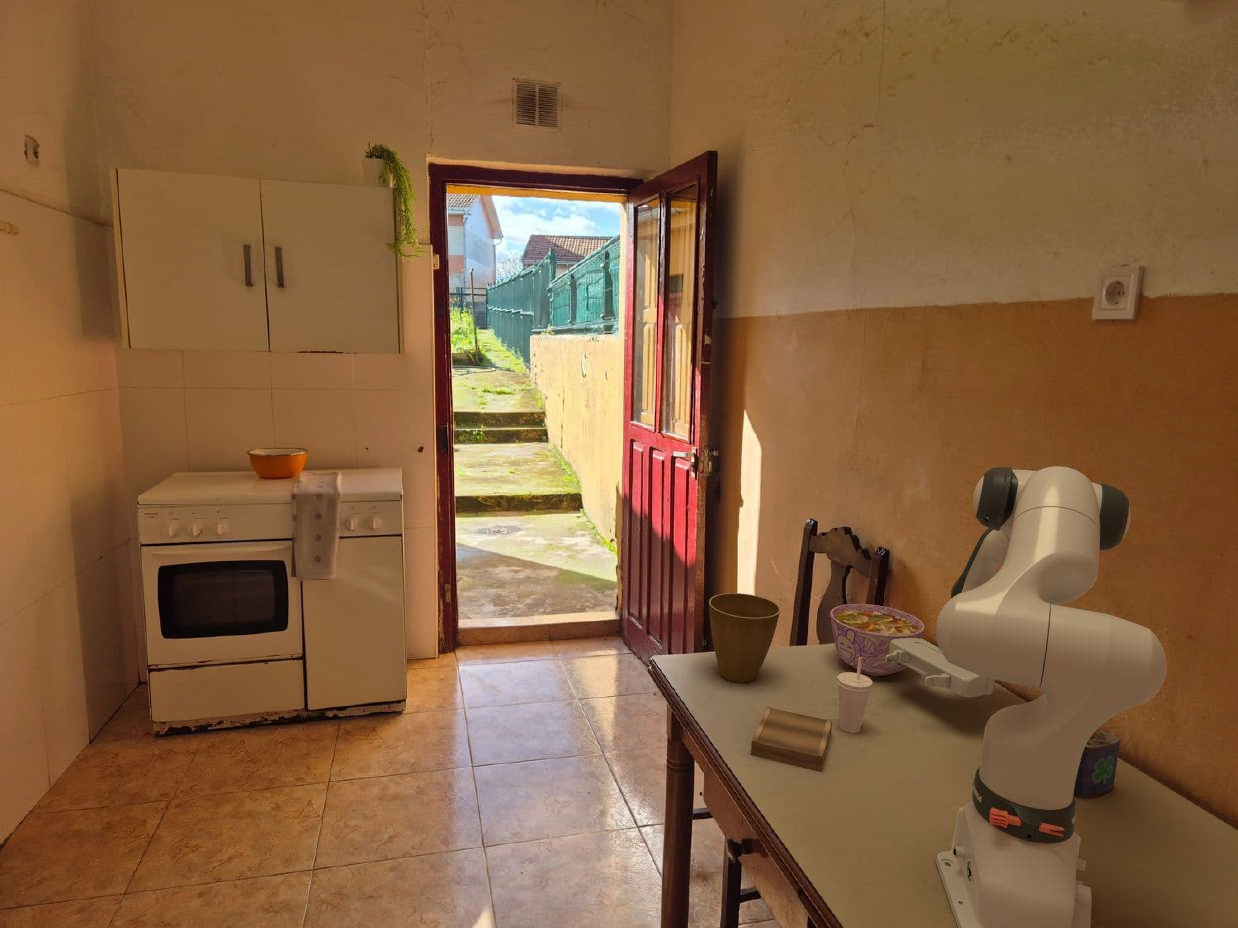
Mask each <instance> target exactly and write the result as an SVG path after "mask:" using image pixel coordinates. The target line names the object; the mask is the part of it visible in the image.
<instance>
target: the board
mask: <svg viewBox="0 0 1238 928" xmlns="http://www.w3.org/2000/svg"><path fill="white" fill-rule="evenodd" d="M832 727H833V720H832V719H828V718H827V719H823V718H820V717H815V716H809V715H805V714H801V713H796V712H792V711H786V710H781V709H777V708H773V707H771V706H767V707H766V709H765V711H764V713H763V715H762V717H761V720H760V722H759V724H758V727H757V729H756V731H755V733H754V736H753V738H752V740H751V744H750V745H751V747H750V755H751V756H755V757H759V758H763V759H767V760H771V761H776V762H781V763H785V764H789V765H793V766H797V767H801V768H805V769H810V770H814V771H818V772H822V771H823V767H824V764H825V760H826V755H827V751H828V747H829V744H830V743H829V742H830V741H831V740H830V739H831V736H832V730H833V729H832Z"/></svg>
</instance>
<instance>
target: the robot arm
mask: <svg viewBox="0 0 1238 928" xmlns="http://www.w3.org/2000/svg"><path fill="white" fill-rule="evenodd" d="M972 496H973V497H972V503H973V509H974V513H975V518H976V519H977V521H978V523H979V524H980V525H982V526H984V527H986V528H987V529H986V530H985V531H984V532H983V533H982V535H980V536H979V539H978V541H977V543H976V545H975V546H974V548H973V551H972V552H971V555H970V557H969V558H968V561H967V563H966V565H965V567H964V569H963V571H962V573H961V574H960V576H959V577H958V579H956V580H955V582H954V584H953V585H952V587H951V591H950V599H949V600H948V601H947V602H946V603H945V604H944V606H942V608H941V610H940V612H939V614H938V617H937V620H936V626H935V636H936V641H937V646H936V645H934V644H932V643H930V642H928V641H927V640H926V641H925V640H924V639H922V638H921V639H918V638H901V639H893V640H891V642H890V646H889V655H886V657H885V663H886V664H888V665H890V666H895V665H897V661H898V662H900V663H902V664H904V665H906V666H907V667H906V668H909V669H911V670H913V671H914V672H916V673H919V675H921V676H920V683H921V684H922V685H924V686H925V687H926V688H927V687H938V688H945V689H947V690H949V691H951V692H952V693H954V694H956V695H958V696H960V697H963V698H976V697H977V698H978V697H980V696H989V695H992V694H993V692H994V687H995V681H1000V682H1004V683H1008V684H1009V683H1010V684H1013V685H1018V686H1022V687H1023V686H1024V687H1028V688H1031V689H1037V690H1039V691H1040V692H1041V691H1042V692H1043V693H1042V694H1041V695H1040V696H1039V697H1037V698H1035V699H1034V700H1031V701H1027V702H1024V703H1018V704H1013V705H1009V706H1006V707H1003V708H1001V709H999V710H997V711H996V712H994V714H992V715H991V716H990V717H989V719H988V720H987V722H986V724H985V726H984V731H983V732H984V733H983V740H982V747H981V755H980V764H979V767H978V768H977V769H976V771H975V774H974V778H973V780H972V781H973V782H972V793H971V794H972V795H971V800H970V801H969V802H967V803H966V804H964V805H962V806H961V807H960V808H958V810H957V815H956V819H955V820H956V821H955V826H954V833H953V837H952V844H951V850H945V851H940V852H938V853H937V855H936V859H935V865H936V866H937V870H938V873H939V876H940V879H941V882H942V884H943V887H944V891H945V893H946V894H945V895H946V897H947V900H948V903H949V906H950V908H951V911H952V915H953V917H954V920H955V924H956V925H957V928H1091V926H1092V907H1093V906H1092V904H1093V903H1092V902H1093V901H1092V900H1093V899H1092V887H1090V886H1087V885H1084V881H1081V880H1078V879H1076V878H1077V871H1080V872H1083V873H1084V872H1086V870H1087V869H1086V868H1087V867H1086V866H1087V860H1086V859H1085V860H1084V859H1082V858H1079V854H1080V852H1079V851H1080V848H1081V847H1080V846H1081V841H1082V838H1081V837H1080V835H1078V833H1077V832H1076V831H1075V822H1076V819H1077V818H1076V817H1077V808H1076V803H1077V801H1076V797H1075V796H1074V795H1073V794H1074V787H1075V782H1076V777H1077V772H1078V768H1079V764H1080V761H1081V757H1082V754H1083V751H1084V748H1085V746H1086V744H1087V742H1088V740H1089V739H1091V738H1092V736H1093V735H1094V733H1096V731H1097V729H1098V730H1099V728H1101V726H1103V725H1104V723H1106V722H1108V721H1109V720H1110V719H1112V718H1113V717H1115V716H1117V715H1118V714H1120V713H1123V712H1124V711H1127V710H1130V709H1132V708H1136V707H1139V706H1142V705H1144V704H1147V703H1148V702H1149V701H1151V700H1152V699H1153V698H1154V697H1155V696H1156V695H1157V694H1158V693H1159V691H1160V690H1161V689H1162V687H1163V685H1164V683H1165V681H1166V678H1167V673H1168V661H1167V656H1166V653H1165V649H1164V647H1163V645H1162V643H1161V642H1160V639H1159V638H1158V637H1157V636H1156V634H1155V632H1153V631H1152V630H1151V629H1150V628H1149V627H1146V626H1144V625H1141V624H1138V623H1135V622H1133V621H1130V620H1128V619H1124V618H1121V617H1119V616H1114V615H1112V614H1109V613H1104V612H1098V611H1093V610H1092V611H1091V610H1088V609H1087V610H1086V609H1081V608H1076V607H1070V606H1064V605H1063V604H1066V603H1070V602H1073V601H1075V600H1077V599H1079V598H1081V597H1082V596H1083V595H1085V594H1086V593H1088V591H1090V590H1091V589H1092V588H1093V586H1094V585H1095V584H1096V582H1097V580H1098V576H1099V568H1100V551H1108V550H1109V551H1110V550H1111V549H1114V548H1116V546H1118V545H1120V544H1121V543H1122V539H1124V537H1125V536H1126V534H1127V533H1128V531H1129V528H1130V525H1131V521H1132V513H1131V511H1132V510H1131V506H1130V500H1129V498H1128V496H1127V494H1126V493H1125V492H1124V491H1123V490H1122V489H1120V488H1119V487H1118V488H1117V487H1115V486H1112V485H1110V484H1107V483H1104V482H1100V484H1099V483H1096V482H1092V481H1091V480H1090V479H1089V478H1088V477H1087V476H1086V475H1085V474H1083V473H1082V472H1080V471H1078V470H1077V469H1074V468H1071V467H1068V466H1059V465H1057V466H1056V465H1054V466H1048V467H1047V466H1046V467H1044V468H1042V469H1039V470H1030V469H1013V468H1012V467H1011V466H1004V467H1003V466H999V467H997V466H996V467H992V468H990V469H989V470H987V471H985V472H984V473H983V476H982V477H981V478H980V479H979V481H978V482H977V484H976V485H975V488H974V492H973V495H972ZM1000 565H1002V566H1001V567H1000V569H999V566H1000ZM998 569H999V570H998ZM997 570H998V571H997Z"/></svg>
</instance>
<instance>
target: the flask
mask: <svg viewBox="0 0 1238 928" xmlns="http://www.w3.org/2000/svg"><path fill="white" fill-rule="evenodd" d="M1096 731H1097V732H1098V734H1096V735H1095V736H1094V738H1090V739H1089V740H1088V742H1087V744H1086V746H1085V748H1084V751H1083V754H1082V757H1081V761H1080V764H1079V768H1078V772H1077V777H1076V782H1075V787H1074V794H1073V795H1074V796H1075V799H1079V800H1080V799H1081V800H1089V799H1094V798H1099V797H1101V796H1104V795H1107V794H1108V793H1111V792H1112V791H1113V789H1114V786H1115V779H1116V772H1117V771H1116V770H1117V766H1118V759H1119V752H1120V746H1121V738H1119V737H1118V736H1116V735H1114V734H1110V733H1109V734H1108V733H1107V732H1106V731H1103V730H1102V729H1099V728H1098V729H1097V730H1096Z"/></svg>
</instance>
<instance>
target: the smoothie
mask: <svg viewBox="0 0 1238 928" xmlns="http://www.w3.org/2000/svg"><path fill="white" fill-rule="evenodd" d="M861 660H862V658H861V657H859V659H858V669H857V670H856V672H850V671H847V672H846V671H845V672H841V673H839V674H837V676H836V683H837V686H838V687H837V688H838V690H837V691H838V692H837V693H838V714H839V728H840V729H841V730H842V731H844V732H847V733H853V734H854V733H859V732H860V731H861V728H862V724H863V721H864V720H863V719H864V715H865V711H866V707H867V704H868V703H867V702H868V699H869V696H870V695H869V694H870V691H871V690H872V689H873V680H872V679H871V677H869V676H868V675H865V674H863V673H861V672H860V670H861Z"/></svg>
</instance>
